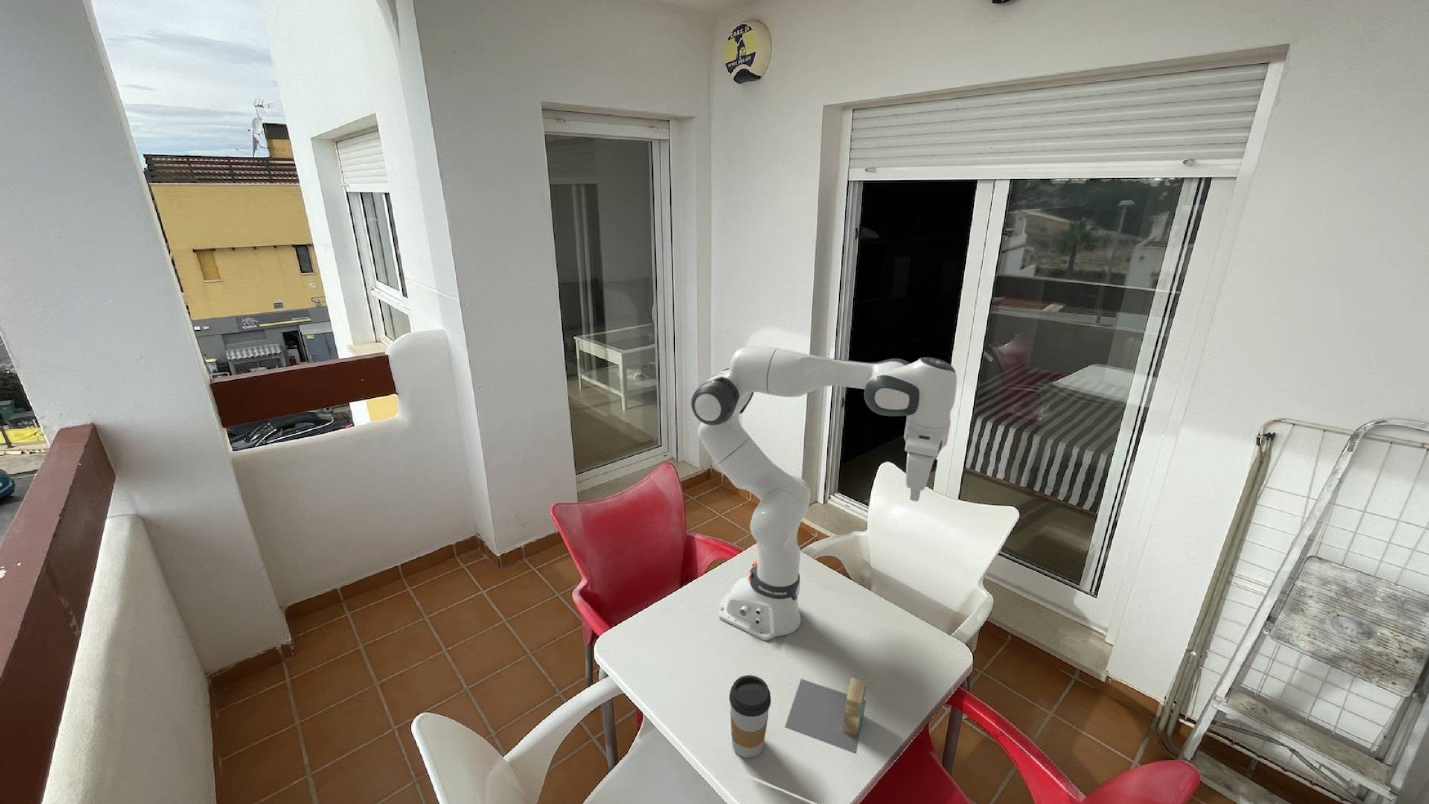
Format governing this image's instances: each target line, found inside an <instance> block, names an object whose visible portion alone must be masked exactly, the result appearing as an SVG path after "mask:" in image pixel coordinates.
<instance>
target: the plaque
mask: <svg viewBox="0 0 1429 804" xmlns="http://www.w3.org/2000/svg"><path fill="white" fill-rule="evenodd" d="M866 689H867V685H866V681H864V680H860V679H858V678H854V677H851V678H850V682H849V687H848V691H847V693H846V694H847V699H846V707H845V714H844V722H843V729H842V731H843V732H846V733H849V734H852V735H854V736H857V733H859V728H860V723H861V718H862V712H863V705H864V700H865V698H866ZM862 719H863V718H862Z"/></svg>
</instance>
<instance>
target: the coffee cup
mask: <svg viewBox="0 0 1429 804" xmlns="http://www.w3.org/2000/svg"><path fill="white" fill-rule="evenodd" d="M728 696H729V697H728V698H729V703H730V709H729V710H730V734H731V744H732V749H733V751H734V752H735V753H736V754H737V755H738V756H740V757H742V758H744V759H753V758H756V757H758V756H759V755H760V754H761V752H762V751H763V748H764V743H765V742H764V741H765V738H766V732H767V724H768V720H769V719H768V718H769V711H770V707H771V704H772V700H771V698H772V696H771V691H770V689H769V686H768V684H767V683H766V681H764V679H762V678H761V677H758V676H756V675H751V674H750V675H749V674H747V675H743V676H740V677H738V678H737V679H736V680H735V681H734V682H733V684H732V685H731V688H730V689H729V695H728Z"/></svg>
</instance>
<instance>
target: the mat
mask: <svg viewBox="0 0 1429 804" xmlns="http://www.w3.org/2000/svg"><path fill="white" fill-rule="evenodd" d="M796 689H797V690H796V693H795V696H794V699H793V702H792V704H791V708H790V710H789V714H788V716H787V719H786V723H785V726H784V728H786V729H788V730H791V731H794V732H797V733H799V734H802V735H805V736H807V737H810V738H813V739H816V740H818V741H821V742H824V743H827V744H829V745H832V746H835V747H837V748H839V749H843V750H844V751H848V752H851V753H853V754H857V749H858V744H859V739H860V733H861V729H862V723H863V719H864V718H863V717H864V713H865V708H866V707H865V706H866V699H864V705H863V712H862V718H861V723H860V728H859V733H857V736H854V735H852V734H849V733H846V732H843V731H842V729H843V722H844V714H845V707H846V699H847V694H848V693H844V692H841V691H838V690H836V689H833V688H829V687H827V686H824V685H820V684H817V683H815V682H812V681H809V680H806V679H803V678H800V680H799V684H798V687H797V688H796Z"/></svg>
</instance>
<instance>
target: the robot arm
mask: <svg viewBox="0 0 1429 804" xmlns="http://www.w3.org/2000/svg"><path fill="white" fill-rule="evenodd" d="M957 377H958V376H957V372H956V370H955V368H954V366H953V365H951V364H950V363H948V362H946V361H945V360H942V359H939V358H936V357H935V358H934V357H927V356H926V357H920V358H918V359H917V360H915V361H913V362H909V361H907V360H905V359H903V358H888V359H884V360H881V361H876V362H869V361H868V362H864V361H858V360H857V361H856V360H847V359H839V358H829V357H824V356H823V357H822V356H818V355H812V354H809V353H805V352H804V353H803V352H799V351H795V350H789V349H783V348H777V347H769V346H745V347H741V348H738V349H737V350H736V351H735V352H734V353H733V354H732V356H731V359H730V362H729V367H728V368H725V369H723V370H721V371H720V372H717V373H715V374H713V375H712V376H711V377H709V378H708V379H707V380H706V381H705V382H703V383H702V384H700V385H699V386H698V387H697V388H696V390H695V391H694V393H693V395H692V398H691V401H690V406H691V411H692V413H693V415H694V416H695V418H696V419H697V420H698V421H699V422H700V423H699V426H698V428H697V434H698V437H699V439H700V441H701V442H702V445H703V447H704V448H705V449H706V452H708V454H709V456H710V457H711V458H712V459H713V461H714V462H715V464H716V465H717V466H718V468H720V470H721V471H722V472H723V474H725V476H726V477H727V478H728V480H729V481H730V482H731V483H732V485H733V486H734V487H735V488H738V489H740V490H746V491H748V492H749V493H751V494H753V495H754V497H756V498H757V499H759V501H760V502H759V503H758V505H757V506H756V508H755V509H754V510H753V513H752V516H751V520H750V523H749V529H750V533H751V535H752V538H754V540H755V541H756V543H757V558H756V559H755V560H753V563H752V564H751V566H752V567H751V569H750V570H749V574H748V576H745V577H740V579H738V580H737V581H736V582H735V583H734V585H732V587H731V589H730V590H729V591H727V592H726V594H725V595H724V596H723V598H722V599H721V601H720V603H719V607H718V612H717V613H718V618H719V619H720V620H722V621H724V622H726V623H728V624H730V625H731V626H734V627H736V628H738V629H740V630H742V631H745V632H746V633H748V634H750V635H753V636H755V637H756V638H758V639H760V640H763V641H769V640H772V639H773V638H775V637H781V636H786V635H790V634H792V633H794V632H795V631H796V630H797V629H798V628H799V627H800V626H801V622H802V617H801V614H800V609H799V599H798V596H799V594H800V589H801V588H800V587H801V577H800V572H799V571H800V560H801V548H800V546H799V545H798V531H799V528H800V526H801V522H802V520H803V519H804V517H805V514H806V513H807V511H808V509H809V507H810V506H809V505H810V500H811V489H810V486H809V485H808V483H807V481H805V480H804V479H803V478H801V477H799V476H797V475H792V474H790V473H787V472H786V471H784V470H783V469H782V468H780V467H779V466H778V465H777V464H776V463H774V462H773V461H772V460H771V459H770V458H769V457H768V456H767V455H766V454H765V452H763V450H762V449H761V448H760V447H759V446H758V445H757V442H755V441H754V440H753V438H752V437H751V436H750V435H749V434H748V432H747V431H746V430H745V428H744V427H743V426H742V425H741V423H740V417H739V415H740V414H743V412H745V410H746V408H747V406H748V405H749V404H750V402H751V401H752V398H753V396H754V394H755V393H761V394H764V395H765V394H766V395H771V396H776V397H782V398H783V397H784V398H796V397H797V398H798V397H801V396H803V395H807V394H809V393H811V392H813V391H815V390H818V389H821V388H825V387H831V386H835V387H846V388H853V389H854V388H855V389H861V390H864V392H863V397H864V401H865V403H866V405H867V406H868V407H867V408H868V409H870V410H871V411H872V412H873V413H874V414H875V413H876V415H877V414H878V415H880V416H886V417H906V421H905V426H904V433H903V434H904V435H903V439H904V442H905V446H904V451H905V452H907V456H906V466H905V467H906V468H905V469H906V470H905V472H906V473H905V483H906V484H905V485H906V487H907V488H909V489H910V497H909V500H910V501H913V502H919V500H920V496H921V491H924V490H925V489H926V487H927V484H928V480H929V477H930V474H931V470H932V467H933V464H934V461H935V459H936V458H938V456H939V454H940V453H941V450H942V449H943V448H944V447H946V446H947V444H948V439H949V435H950V428H951V425H952V424H951V422H952V421H951V412H952V410H953V408H954V405H955V401H956V393H957V385H958V384H957V383H958V382H957V381H958V379H957Z"/></svg>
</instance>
